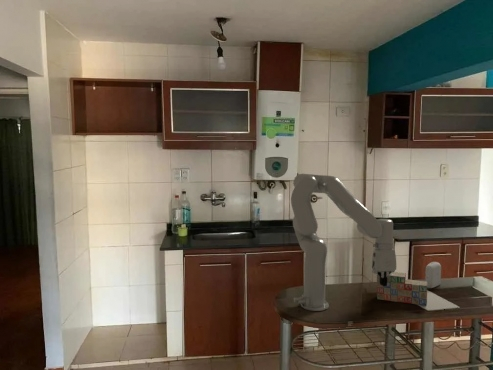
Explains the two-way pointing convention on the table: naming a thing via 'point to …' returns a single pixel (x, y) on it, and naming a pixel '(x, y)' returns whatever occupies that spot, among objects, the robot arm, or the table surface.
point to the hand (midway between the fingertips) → (383, 285)
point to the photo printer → (433, 274)
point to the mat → (437, 303)
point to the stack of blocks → (402, 289)
